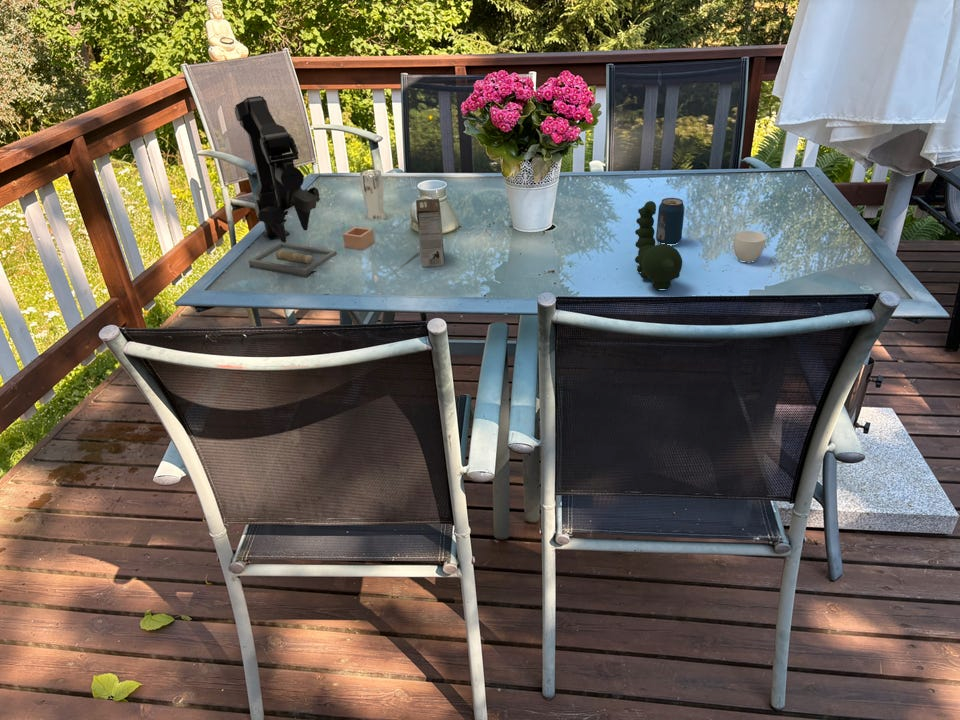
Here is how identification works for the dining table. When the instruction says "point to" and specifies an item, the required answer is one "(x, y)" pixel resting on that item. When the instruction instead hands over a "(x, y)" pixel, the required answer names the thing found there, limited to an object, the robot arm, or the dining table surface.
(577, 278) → the dining table surface
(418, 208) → the coffee box
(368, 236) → the terracotta box
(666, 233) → the soda can
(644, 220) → the toy figurine
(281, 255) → the wooden dowel
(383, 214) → the beer glass
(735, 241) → the cup
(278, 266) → the charcoal frame
